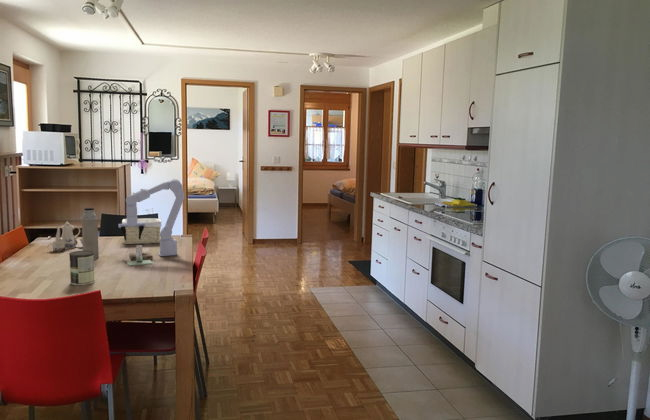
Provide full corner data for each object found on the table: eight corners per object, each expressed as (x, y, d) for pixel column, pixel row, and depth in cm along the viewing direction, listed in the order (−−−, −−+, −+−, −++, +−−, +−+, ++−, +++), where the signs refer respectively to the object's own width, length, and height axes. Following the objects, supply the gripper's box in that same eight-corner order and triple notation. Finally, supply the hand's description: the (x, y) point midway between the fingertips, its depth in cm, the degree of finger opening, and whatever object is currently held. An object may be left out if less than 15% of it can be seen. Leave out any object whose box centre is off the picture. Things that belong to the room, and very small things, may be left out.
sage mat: (150, 260, 293) (149, 259, 293) (152, 264, 285) (152, 262, 285) (126, 262, 288) (126, 261, 288) (128, 265, 280) (128, 264, 280)
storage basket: (160, 239, 357) (160, 217, 355) (162, 243, 342) (161, 221, 340) (122, 240, 349) (122, 218, 347) (122, 245, 334) (121, 222, 332)
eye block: (149, 256, 304) (149, 251, 304) (152, 260, 294) (152, 255, 294) (129, 257, 299) (129, 253, 299) (131, 261, 290) (131, 257, 289)
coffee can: (66, 285, 241) (65, 254, 239) (75, 279, 251) (74, 250, 249) (90, 285, 242) (89, 255, 240) (97, 279, 252) (96, 250, 250)
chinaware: (55, 256, 307) (55, 228, 304) (39, 249, 316) (39, 222, 313) (99, 248, 330) (99, 222, 327) (83, 242, 339) (84, 217, 336)
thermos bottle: (90, 255, 302) (88, 207, 298) (101, 257, 299) (100, 207, 296) (79, 258, 294) (77, 208, 291) (91, 260, 292) (89, 209, 288)
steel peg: (141, 261, 289) (141, 244, 288) (143, 262, 287) (143, 245, 285) (135, 261, 287) (135, 245, 286) (137, 262, 285) (137, 246, 283)
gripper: (144, 214, 309) (144, 237, 310) (117, 215, 302) (118, 239, 304) (146, 216, 302) (146, 239, 304) (118, 217, 296) (119, 241, 298)
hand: (132, 239), depth 304 cm, fingers open, 7 cm apart
